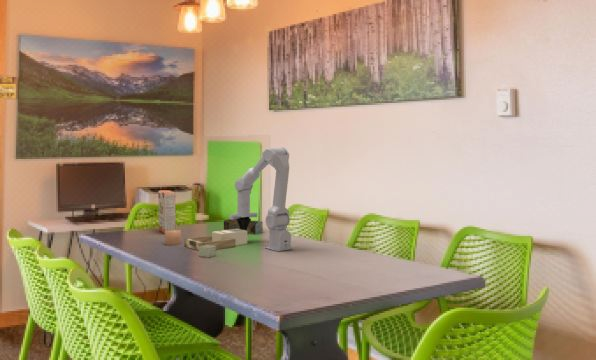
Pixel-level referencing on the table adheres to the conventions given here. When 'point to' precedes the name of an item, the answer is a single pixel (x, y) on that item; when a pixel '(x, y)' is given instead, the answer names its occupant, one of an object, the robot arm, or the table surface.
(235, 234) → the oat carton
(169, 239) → the block
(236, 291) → the table surface
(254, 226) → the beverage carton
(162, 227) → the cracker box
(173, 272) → the table surface
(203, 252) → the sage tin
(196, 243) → the display bay
